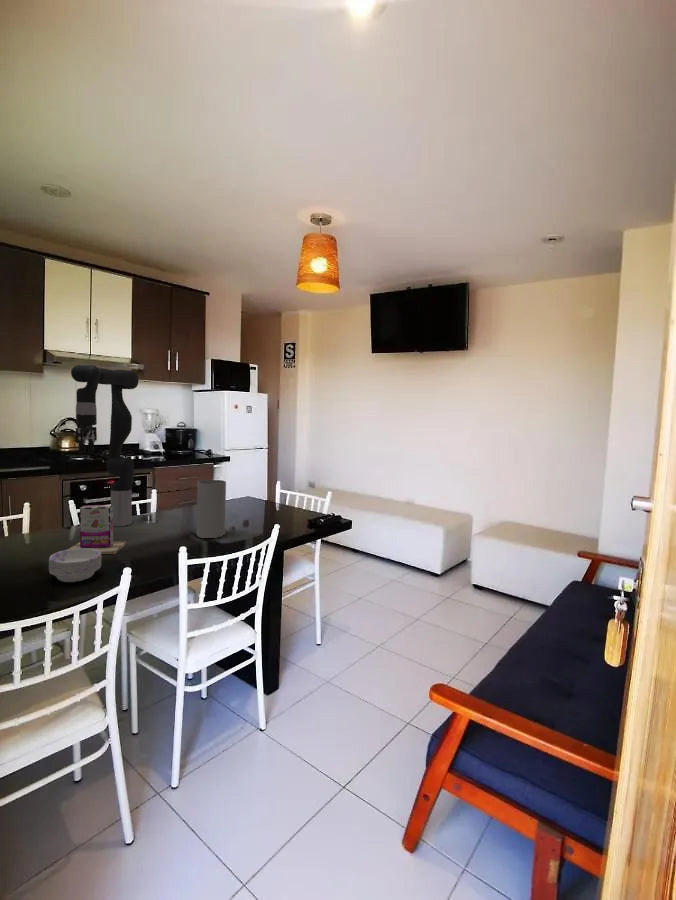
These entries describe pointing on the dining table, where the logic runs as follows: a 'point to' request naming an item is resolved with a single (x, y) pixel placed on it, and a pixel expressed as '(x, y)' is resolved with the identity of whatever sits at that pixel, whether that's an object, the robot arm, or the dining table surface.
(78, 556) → the paper bowls
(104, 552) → the birch board
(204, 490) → the cylinder vase
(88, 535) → the candy bar box
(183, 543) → the dining table surface
